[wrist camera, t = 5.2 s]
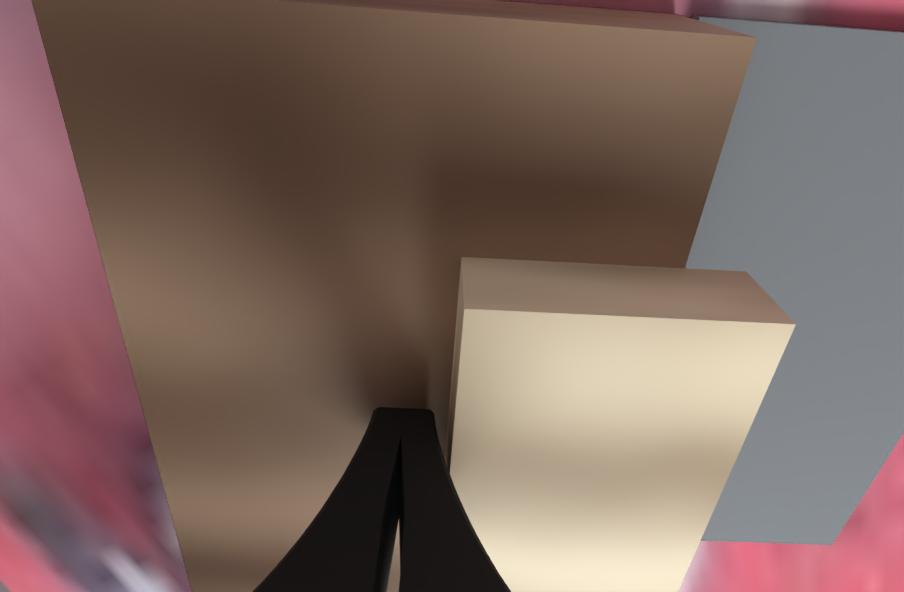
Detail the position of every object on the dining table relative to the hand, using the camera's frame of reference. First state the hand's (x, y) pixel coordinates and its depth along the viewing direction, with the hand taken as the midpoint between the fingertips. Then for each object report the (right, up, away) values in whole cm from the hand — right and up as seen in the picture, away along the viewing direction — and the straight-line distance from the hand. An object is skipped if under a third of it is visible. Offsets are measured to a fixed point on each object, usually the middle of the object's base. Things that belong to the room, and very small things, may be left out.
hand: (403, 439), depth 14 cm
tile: (+4, 0, +1) cm, 4 cm away
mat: (+11, +2, +5) cm, 12 cm away
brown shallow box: (0, +2, +4) cm, 5 cm away
